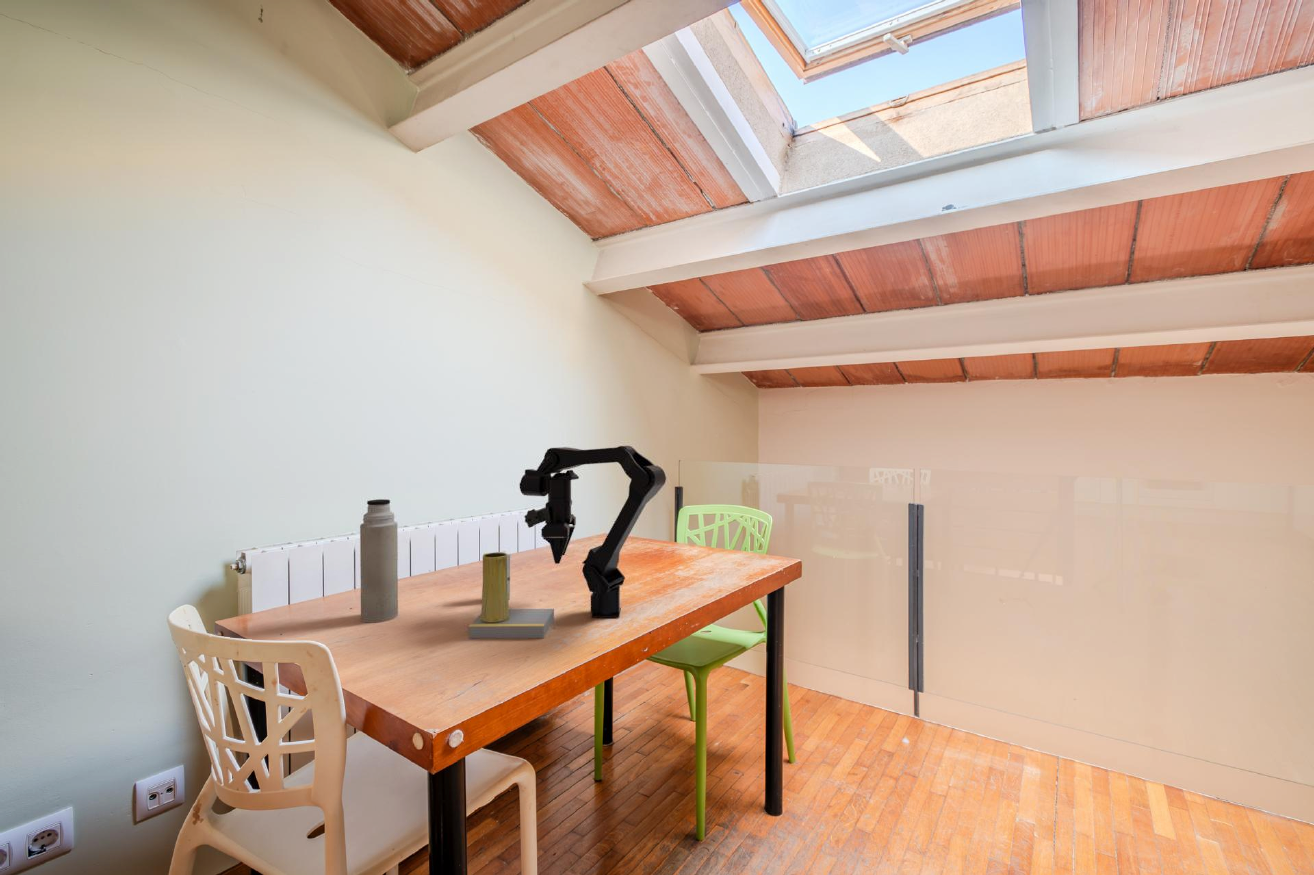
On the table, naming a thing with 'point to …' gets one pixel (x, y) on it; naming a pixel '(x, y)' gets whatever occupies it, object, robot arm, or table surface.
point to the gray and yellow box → (515, 625)
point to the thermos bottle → (379, 563)
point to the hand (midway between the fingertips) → (559, 559)
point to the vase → (495, 588)
